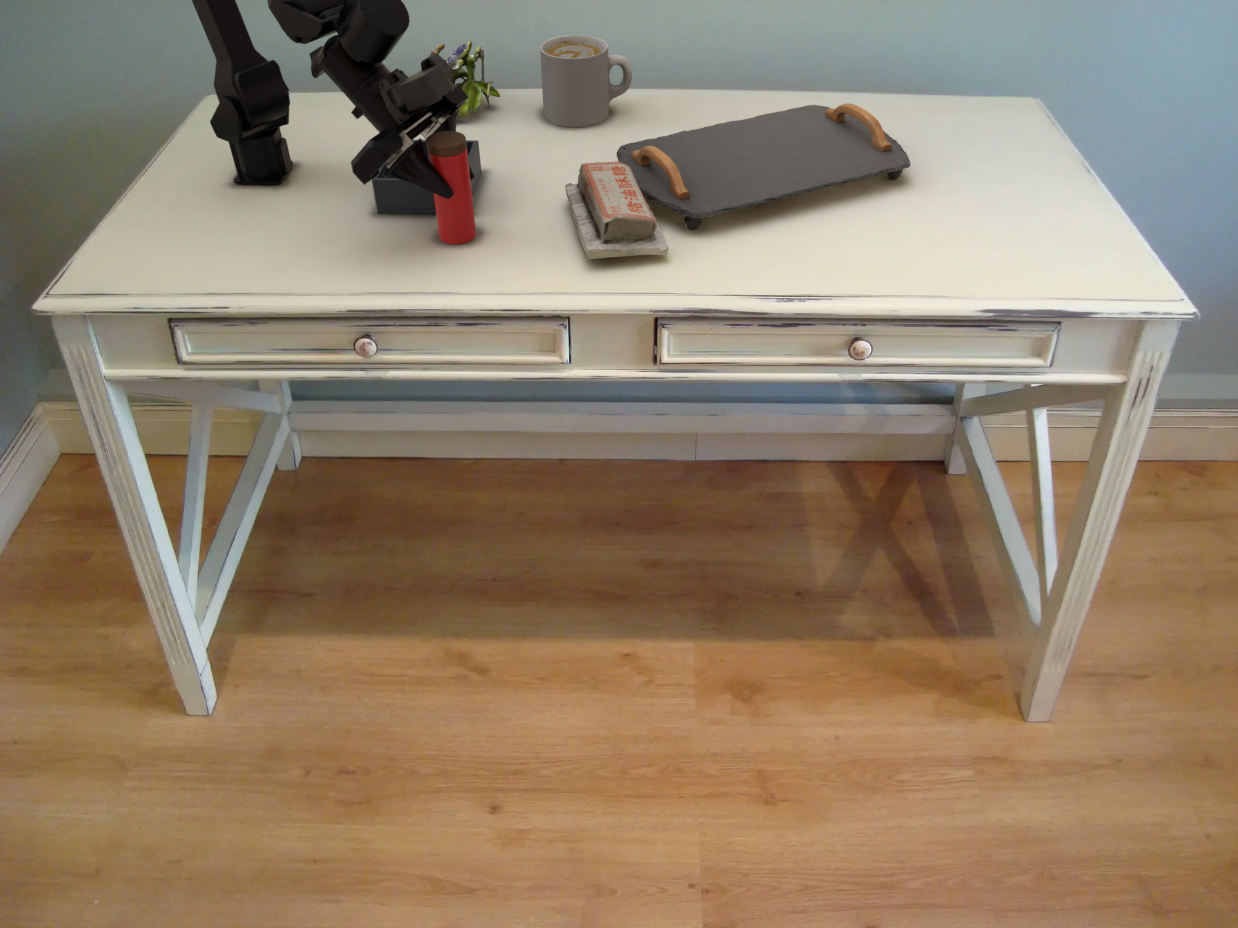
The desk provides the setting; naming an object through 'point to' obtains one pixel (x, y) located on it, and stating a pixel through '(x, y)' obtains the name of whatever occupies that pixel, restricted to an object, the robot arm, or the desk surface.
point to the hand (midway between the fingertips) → (461, 188)
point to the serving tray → (762, 159)
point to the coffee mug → (579, 80)
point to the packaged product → (613, 213)
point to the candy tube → (453, 187)
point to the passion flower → (469, 76)
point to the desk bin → (416, 188)
